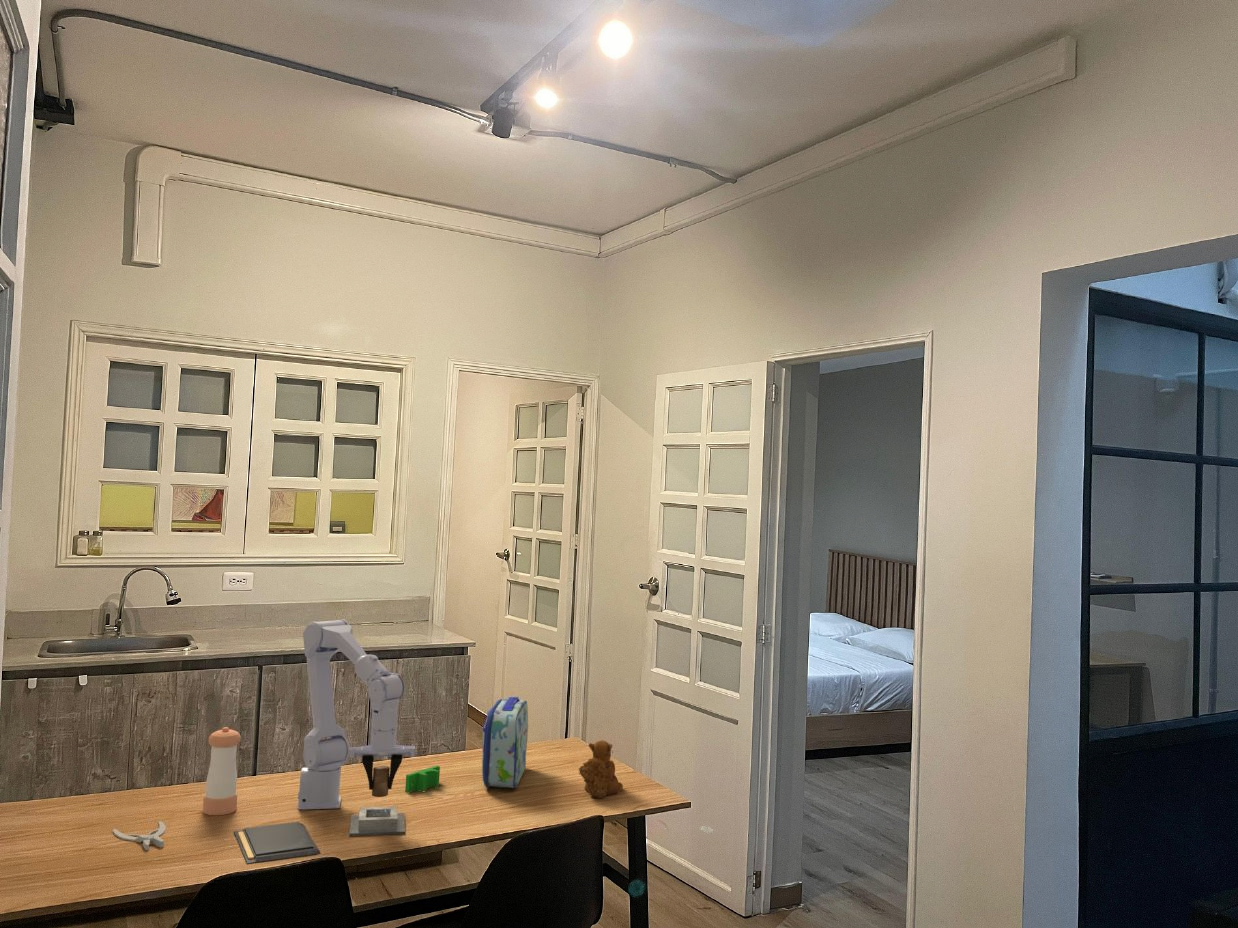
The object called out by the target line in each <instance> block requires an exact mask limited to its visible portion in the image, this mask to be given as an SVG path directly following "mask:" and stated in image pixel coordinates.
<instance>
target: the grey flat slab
mask: <svg viewBox="0 0 1238 928" xmlns="http://www.w3.org/2000/svg"><path fill="white" fill-rule="evenodd" d="M307 829H308V828H306V826H305V825H304V824H303V823H301V822H300V821H294V822H292V821H291V822H284V823H275V824H270V825H269V824H268V825H261V826H253V827H245V828H243V829H240V830H234V831H233V835H234V837H235V839H236V842H237V844H238V847H239V848H240V851H241V853H242V856H243V860H244V862H245V864H246V865H252V864H260V863H269V862H276V861H283V860H290V859H292V860H293V859H298V858H306V857H307V858H308V857H311V856H312V857H313V856H317V855H320V854H322V852H321V850H320V849H319V847H318V845H317V843H315V841H314V840H313V838H312V836H311V835H310V833H309V831H308V830H307Z"/></svg>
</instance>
